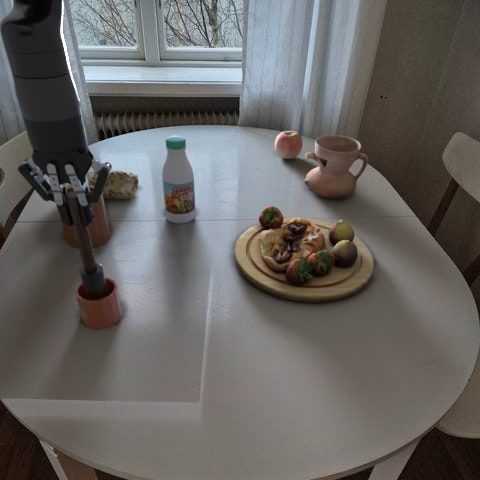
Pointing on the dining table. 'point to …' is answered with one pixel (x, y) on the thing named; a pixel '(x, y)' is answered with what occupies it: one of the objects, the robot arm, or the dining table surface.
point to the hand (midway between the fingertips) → (79, 223)
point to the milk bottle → (178, 182)
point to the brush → (86, 252)
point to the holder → (100, 306)
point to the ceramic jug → (334, 166)
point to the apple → (288, 144)
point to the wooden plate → (303, 258)
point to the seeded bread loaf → (116, 184)
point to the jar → (96, 229)
